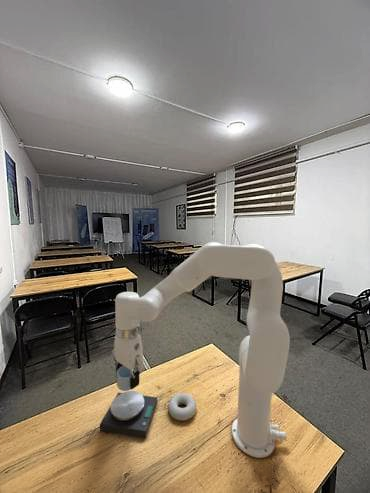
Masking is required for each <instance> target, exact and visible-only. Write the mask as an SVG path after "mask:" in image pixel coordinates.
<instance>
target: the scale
mask: <svg viewBox="0 0 370 493" xmlns="http://www.w3.org/2000/svg"><path fill="white" fill-rule="evenodd" d="M122 393H123V392H117V394H116V396H115V397H114V399H115V398H116V397H117V396H118V395H120V394H122ZM142 396H143V398H144V408H143V410H142V411H141V413H140V414H139V415H137V416H136V417H134V418H132V419H129V420H118V419H116V418H114V417H113V416H112V414H111V405H110V406H109V408H108V409H107V410H106V413H105V414H104V416H103V418H102V420H101V421H100V423H99V432H101V433H108V434H113V435H114V434H115V435H121V436H128V437H135V438H141V439H147V436H148V433H149V430H150V427H151V424H152V421H153V418H154V415H155V412H156V408H157V405H158V396H150V395H149V396H148V395H142Z"/></svg>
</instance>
